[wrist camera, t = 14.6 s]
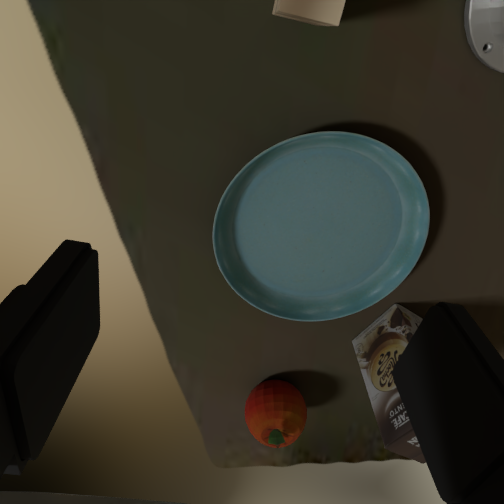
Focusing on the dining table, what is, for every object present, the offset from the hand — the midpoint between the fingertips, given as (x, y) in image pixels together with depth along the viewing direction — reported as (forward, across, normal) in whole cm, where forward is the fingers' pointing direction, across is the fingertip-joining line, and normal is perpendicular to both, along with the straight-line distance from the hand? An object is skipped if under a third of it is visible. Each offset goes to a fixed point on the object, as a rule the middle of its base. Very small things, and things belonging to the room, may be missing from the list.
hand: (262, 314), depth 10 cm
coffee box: (+31, -25, +26) cm, 47 cm away
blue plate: (+31, -10, +12) cm, 35 cm away
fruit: (+31, -12, +42) cm, 53 cm away
